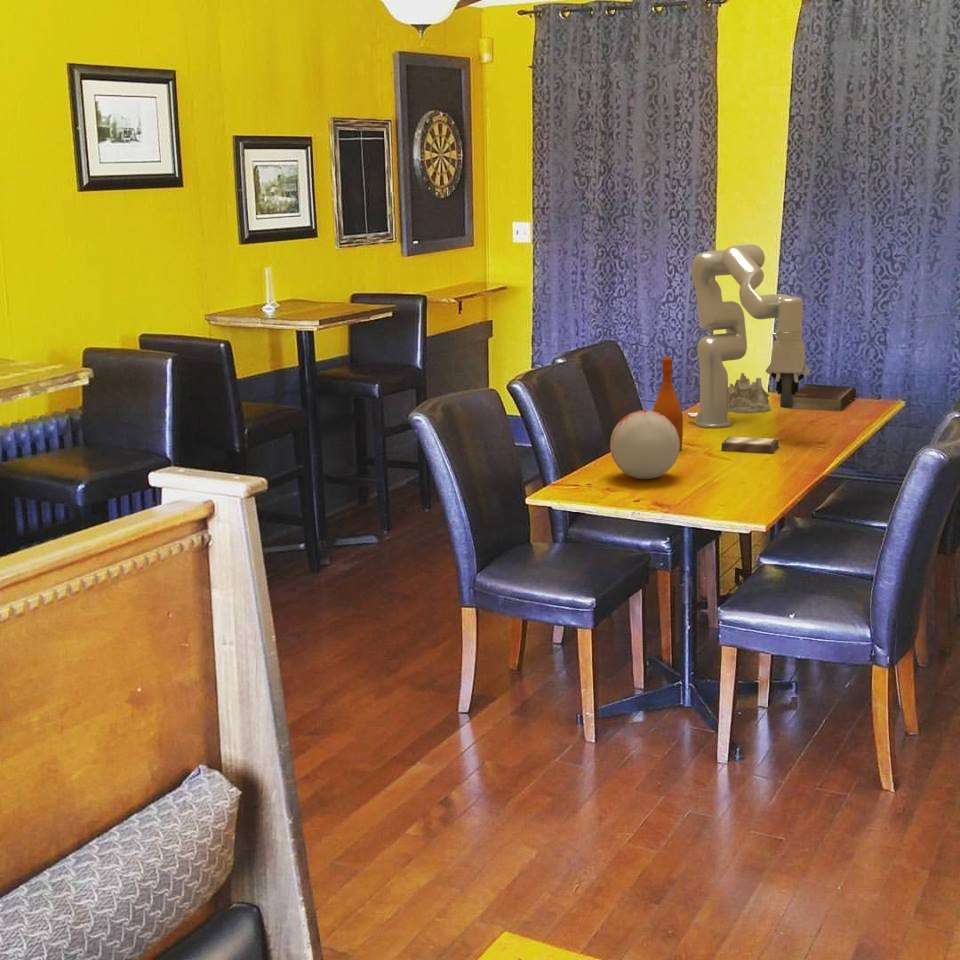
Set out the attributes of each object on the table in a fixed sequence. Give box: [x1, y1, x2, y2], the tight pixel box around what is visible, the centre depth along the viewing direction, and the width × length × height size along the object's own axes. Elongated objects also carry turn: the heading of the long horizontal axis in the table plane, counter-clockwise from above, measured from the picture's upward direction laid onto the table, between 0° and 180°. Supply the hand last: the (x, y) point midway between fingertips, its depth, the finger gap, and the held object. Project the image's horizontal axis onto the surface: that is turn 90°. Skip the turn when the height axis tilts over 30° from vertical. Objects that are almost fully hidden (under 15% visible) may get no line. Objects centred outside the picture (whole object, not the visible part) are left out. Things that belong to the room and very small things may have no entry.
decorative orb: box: [609, 409, 681, 480], centre depth 355 cm, size 21×20×20 cm
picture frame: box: [721, 436, 779, 455], centre depth 390 cm, size 16×10×3 cm, turn 66°
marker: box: [779, 373, 794, 409], centre depth 390 cm, size 4×4×14 cm
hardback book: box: [788, 383, 857, 412], centre depth 462 cm, size 29×19×5 cm, turn 153°
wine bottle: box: [652, 356, 684, 451], centre depth 390 cm, size 10×10×30 cm
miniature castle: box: [728, 372, 772, 414], centre depth 455 cm, size 16×16×15 cm
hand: (787, 393), depth 391 cm, fingers closed on marker, 4 cm apart
